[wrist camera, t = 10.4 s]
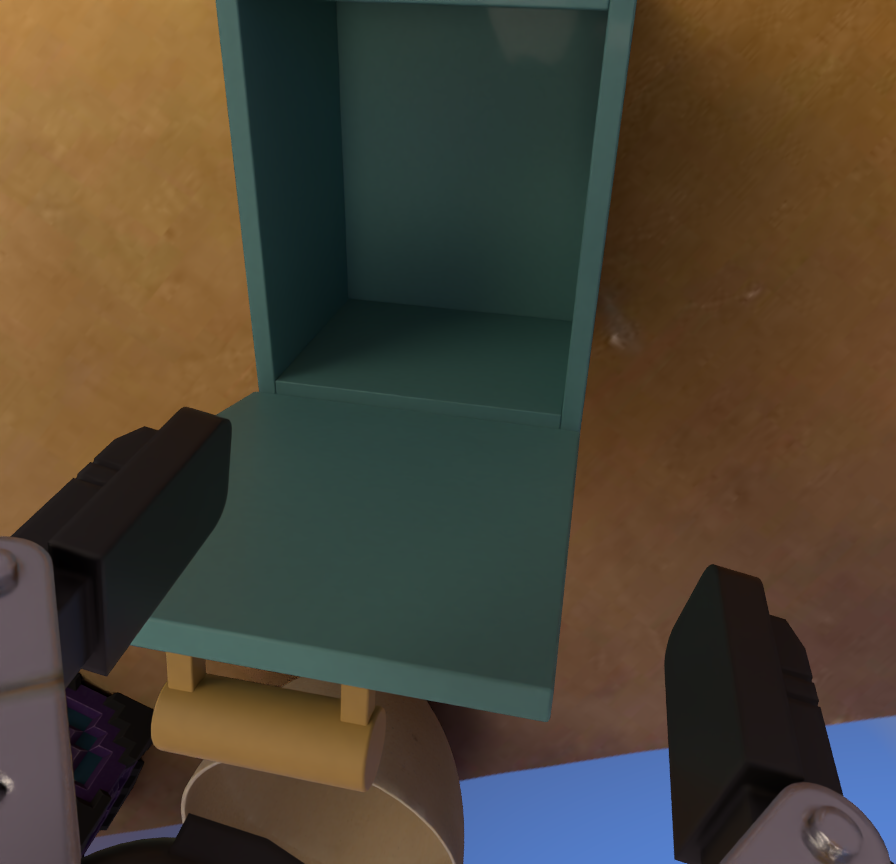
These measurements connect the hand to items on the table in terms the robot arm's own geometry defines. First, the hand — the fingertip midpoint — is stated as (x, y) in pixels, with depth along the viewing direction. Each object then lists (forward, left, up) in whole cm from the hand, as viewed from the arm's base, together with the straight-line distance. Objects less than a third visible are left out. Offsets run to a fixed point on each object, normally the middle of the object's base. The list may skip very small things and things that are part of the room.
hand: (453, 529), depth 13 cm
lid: (0, -7, -9) cm, 11 cm away
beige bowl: (+19, -35, -28) cm, 49 cm away
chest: (-4, -3, -28) cm, 28 cm away
